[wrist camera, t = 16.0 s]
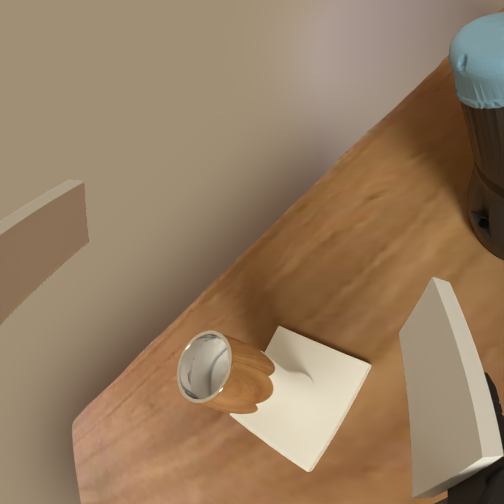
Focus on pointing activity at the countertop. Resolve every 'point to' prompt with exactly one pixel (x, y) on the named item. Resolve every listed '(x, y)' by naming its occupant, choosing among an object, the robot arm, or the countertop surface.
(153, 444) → the countertop surface
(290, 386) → the beer glass
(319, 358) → the mat
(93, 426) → the countertop surface
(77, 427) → the countertop surface
